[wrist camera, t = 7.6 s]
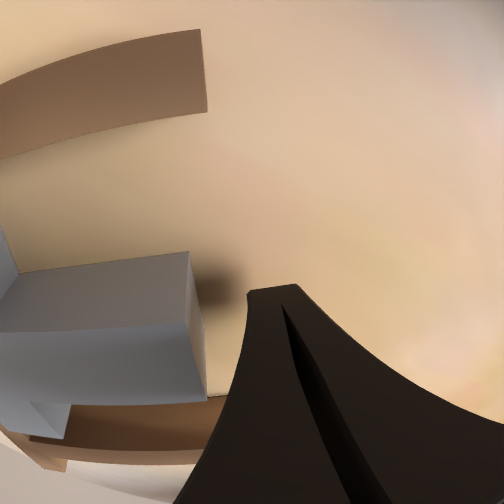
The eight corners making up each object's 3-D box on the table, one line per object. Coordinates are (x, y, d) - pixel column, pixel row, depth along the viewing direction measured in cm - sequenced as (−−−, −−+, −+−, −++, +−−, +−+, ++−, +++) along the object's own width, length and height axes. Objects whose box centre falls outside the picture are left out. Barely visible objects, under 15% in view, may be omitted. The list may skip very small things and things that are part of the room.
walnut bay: (249, 430, 14) (256, 473, 12) (51, 433, 13) (43, 468, 11) (196, -24, 5) (193, -65, 3) (-104, 107, 4) (-148, 124, 2)
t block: (214, 373, 12) (220, 439, 9) (26, 378, 11) (8, 430, 9) (174, 165, 8) (159, 209, 5) (-57, 221, 7) (-106, 265, 5)
